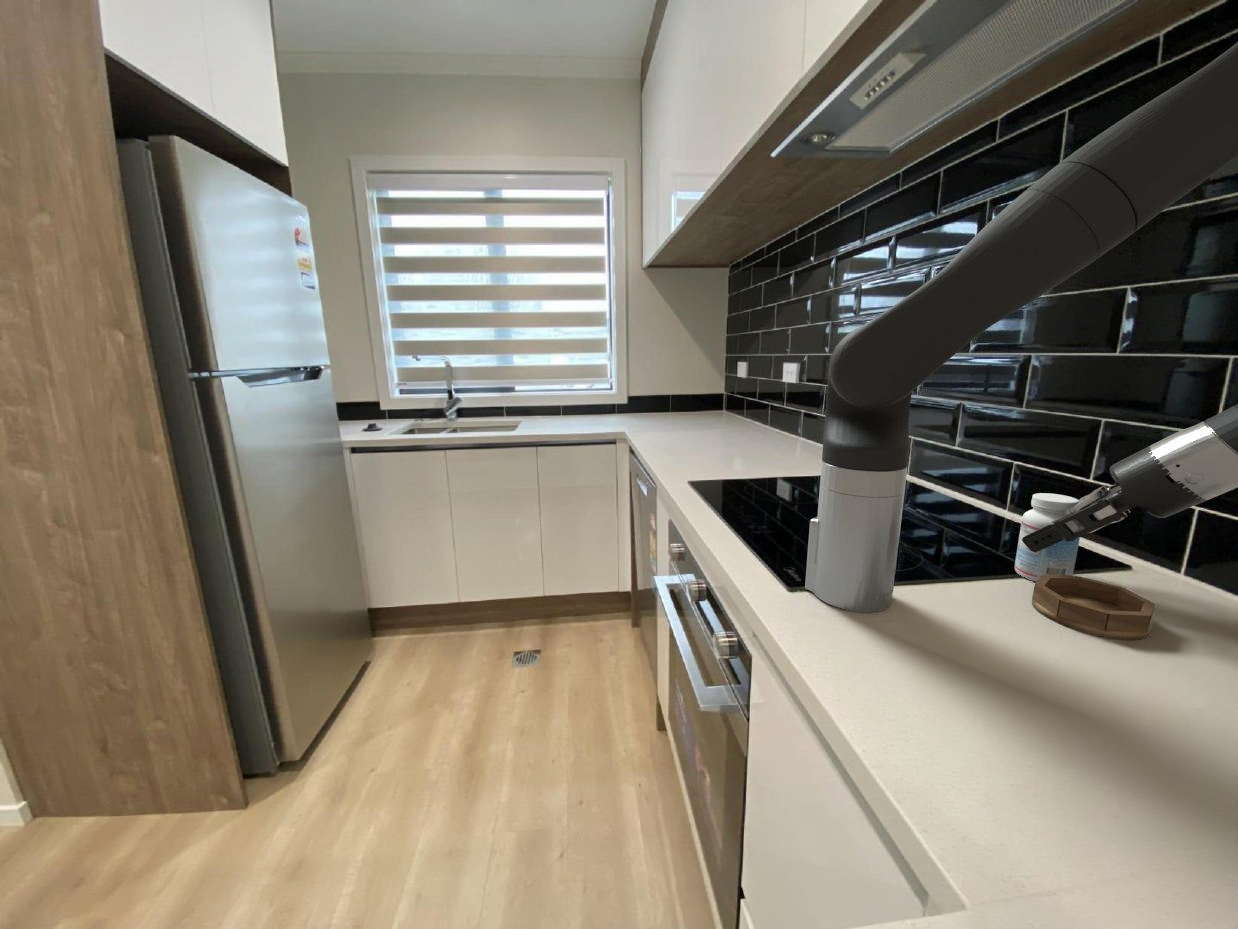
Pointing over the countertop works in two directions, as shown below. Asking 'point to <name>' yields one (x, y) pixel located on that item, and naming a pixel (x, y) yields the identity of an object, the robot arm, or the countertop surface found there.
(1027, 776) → the countertop surface
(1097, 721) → the countertop surface
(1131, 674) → the countertop surface
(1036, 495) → the pill bottle
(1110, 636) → the bowl
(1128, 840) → the countertop surface
